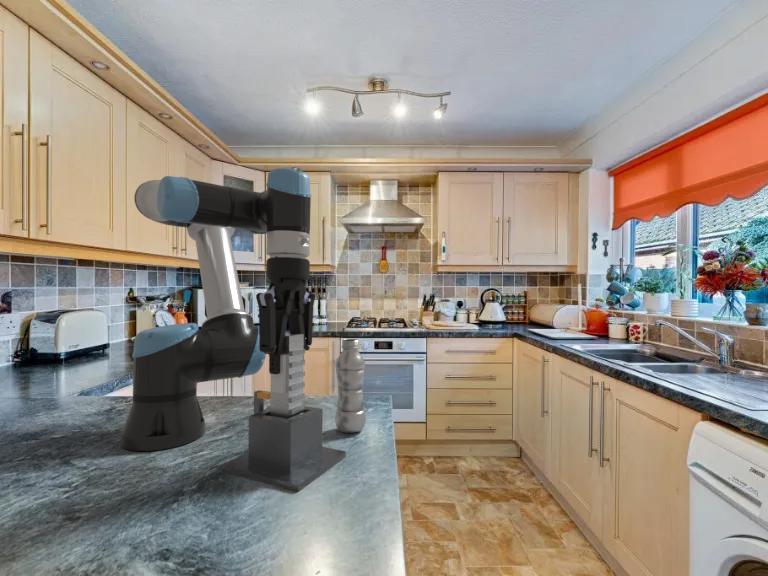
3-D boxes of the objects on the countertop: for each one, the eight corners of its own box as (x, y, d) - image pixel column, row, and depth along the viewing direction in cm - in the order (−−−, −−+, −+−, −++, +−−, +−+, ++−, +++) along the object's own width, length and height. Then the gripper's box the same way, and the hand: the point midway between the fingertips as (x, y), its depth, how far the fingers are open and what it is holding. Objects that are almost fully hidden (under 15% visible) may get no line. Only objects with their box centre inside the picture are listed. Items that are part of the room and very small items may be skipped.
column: (268, 449, 66) (269, 335, 67) (284, 441, 70) (285, 332, 71) (289, 454, 64) (291, 336, 65) (305, 445, 68) (306, 334, 69)
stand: (221, 470, 64) (222, 399, 65) (277, 442, 77) (278, 382, 77) (298, 491, 58) (298, 412, 58) (345, 456, 70) (346, 391, 71)
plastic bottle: (361, 437, 80) (361, 342, 80) (330, 435, 81) (331, 341, 82) (368, 427, 86) (369, 338, 87) (340, 425, 88) (340, 338, 88)
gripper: (271, 251, 59) (270, 404, 58) (332, 261, 74) (331, 381, 74) (235, 254, 62) (233, 398, 62) (301, 262, 78) (299, 377, 77)
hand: (287, 388), depth 68 cm, fingers closed on column, 4 cm apart
